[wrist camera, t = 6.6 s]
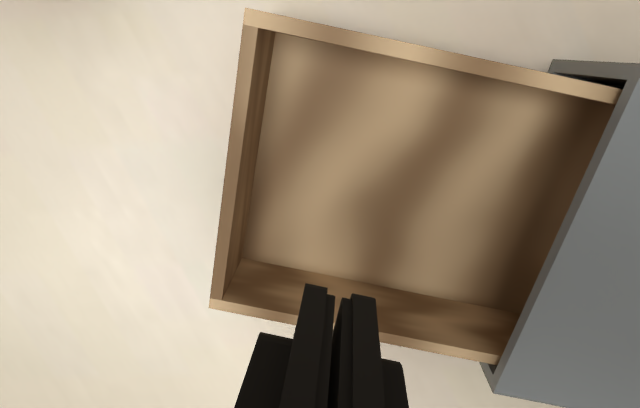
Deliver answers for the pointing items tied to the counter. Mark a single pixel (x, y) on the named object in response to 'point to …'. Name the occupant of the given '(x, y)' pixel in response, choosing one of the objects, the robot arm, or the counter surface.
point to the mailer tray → (396, 181)
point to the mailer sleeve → (587, 275)
